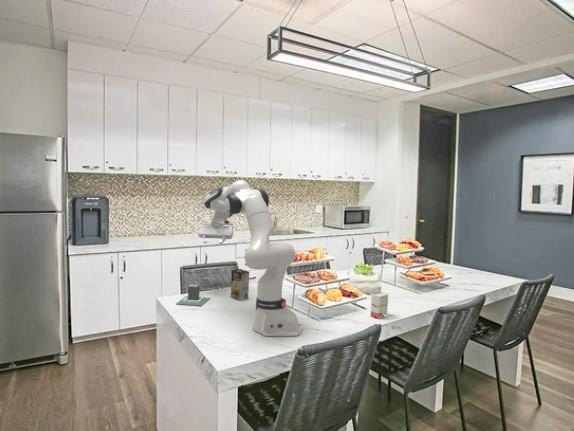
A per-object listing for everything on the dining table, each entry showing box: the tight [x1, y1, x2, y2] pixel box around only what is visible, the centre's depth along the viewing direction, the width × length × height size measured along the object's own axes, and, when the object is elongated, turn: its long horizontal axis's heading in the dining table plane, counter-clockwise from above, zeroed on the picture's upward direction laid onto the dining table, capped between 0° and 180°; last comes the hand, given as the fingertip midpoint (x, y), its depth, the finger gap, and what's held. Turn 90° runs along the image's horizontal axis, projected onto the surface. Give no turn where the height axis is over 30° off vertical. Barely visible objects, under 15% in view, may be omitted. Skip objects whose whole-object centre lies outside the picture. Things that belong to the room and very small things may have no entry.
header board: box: [175, 295, 211, 307], centre depth 203 cm, size 14×14×2 cm
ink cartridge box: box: [370, 286, 389, 319], centre depth 190 cm, size 9×5×15 cm, turn 135°
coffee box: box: [230, 268, 250, 302], centre depth 212 cm, size 9×6×16 cm
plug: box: [187, 284, 201, 300], centre depth 203 cm, size 5×4×8 cm
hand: (212, 243), depth 211 cm, fingers open, 8 cm apart
